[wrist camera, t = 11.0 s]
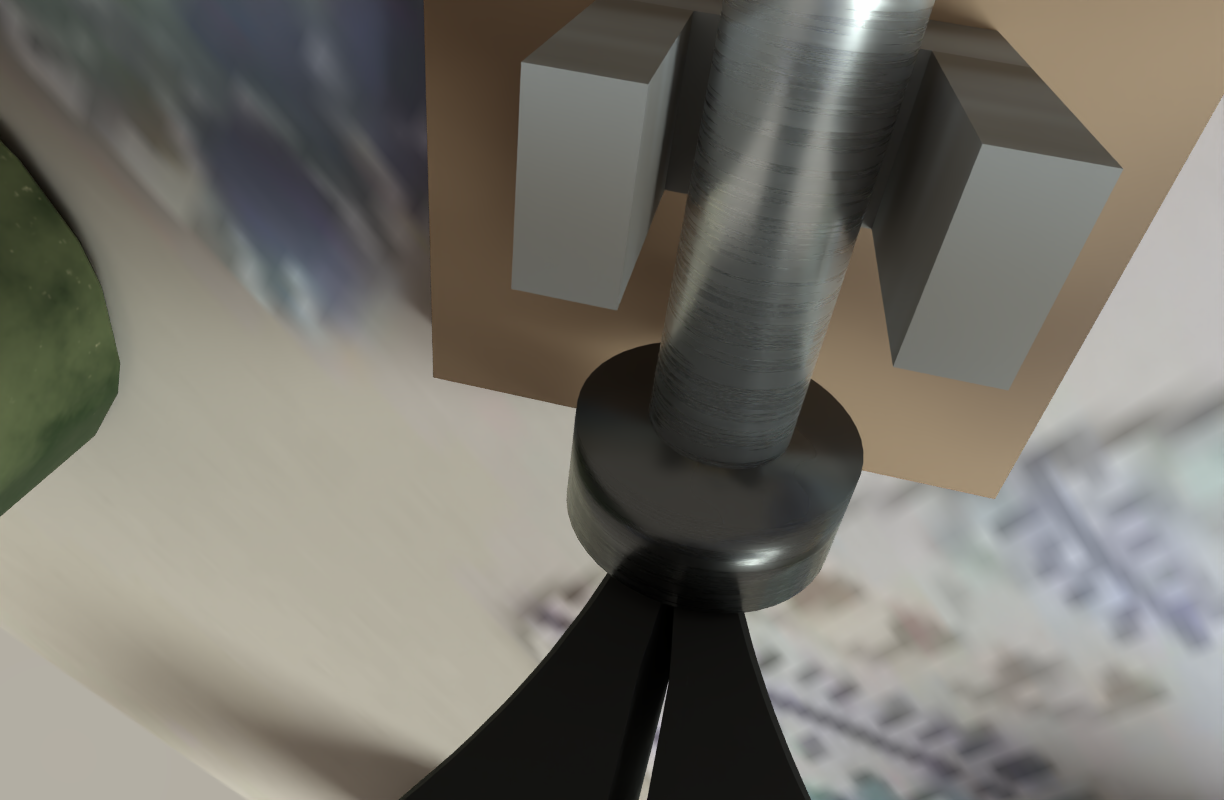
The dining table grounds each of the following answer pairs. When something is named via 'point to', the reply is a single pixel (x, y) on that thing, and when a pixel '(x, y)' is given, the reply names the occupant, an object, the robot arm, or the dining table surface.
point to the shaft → (749, 319)
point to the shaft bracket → (893, 222)
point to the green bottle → (46, 338)
